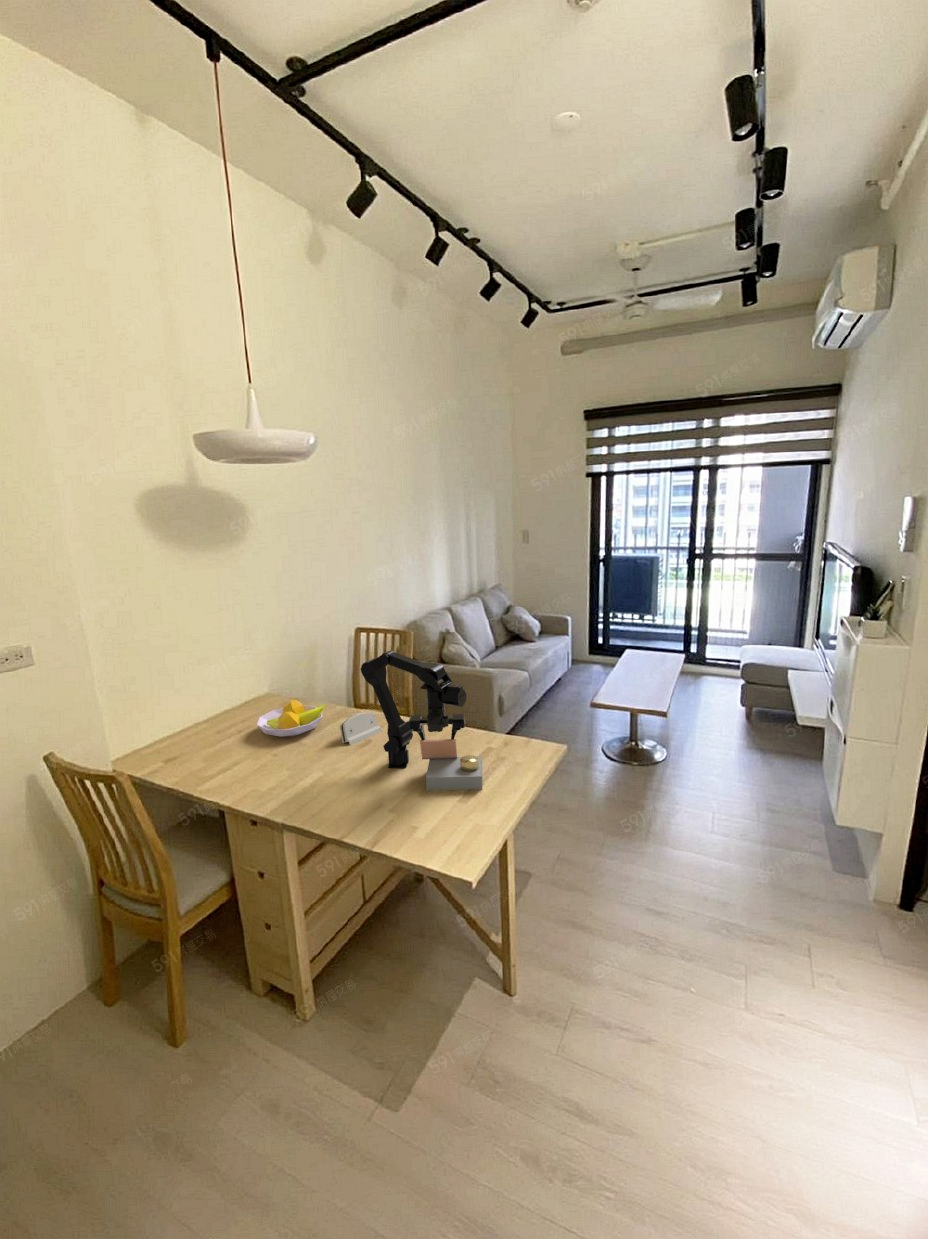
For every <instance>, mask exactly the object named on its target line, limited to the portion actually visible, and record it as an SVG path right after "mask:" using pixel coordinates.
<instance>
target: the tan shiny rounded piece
mask: <svg viewBox="0 0 928 1239" xmlns="http://www.w3.org/2000/svg"><path fill="white" fill-rule="evenodd" d="M461 757H462V758H461V759H460V766H461V770H462V771H464V772H474V771H476V770H478V768H479V762H478V756H476V755H471V754H470V755H469V754H468V755H464V756H461Z"/></svg>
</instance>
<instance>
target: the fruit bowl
mask: <svg viewBox="0 0 928 1239" xmlns="http://www.w3.org/2000/svg"><path fill="white" fill-rule="evenodd" d="M325 707H327V704H325V703H323V705H321V706H319V707H316V706H314V705H303V704H302V703H301V702H300V701H298V700H297V699H290V700H289V701H288V702H287V703H286V704H285V705H284V706H283V707H282V708H277V709H273V710H271V711H269V712H267V713H265V714H263V715H261V716H259V718H258V720H257V723H256V725H257V727H258V728H259V729H260V730H261V731H262V732H263V733H264V734H265V735H270V736H275V737H296V736H299V735H301V734H305V733H306V732H309V731H311V730H312V729H315V728H316V727H317V725H318V724H319V723H320V722H321V721H322V718H323V711H324V709H326V708H325Z"/></svg>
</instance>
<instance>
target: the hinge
mask: <svg viewBox="0 0 928 1239" xmlns="http://www.w3.org/2000/svg"><path fill="white" fill-rule="evenodd" d="M339 730H340V736H341V739H342V740H341V742H342V743H349V746H352V745H355V744H356V743H360V742H362V741H363V740H366V739H369V738H370V737H373V736H375V735H377V734H380V733H382V732H383V729H382V727H381V726H380V725H379V723H378V721H377V718H376V715H375V714H374V713H373V712H362V713H357V714H354V715H352V716H350V717H349V718H347V719H345V720H343V722H341V724H339Z"/></svg>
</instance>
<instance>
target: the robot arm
mask: <svg viewBox="0 0 928 1239" xmlns="http://www.w3.org/2000/svg"><path fill="white" fill-rule="evenodd" d="M387 666H391V667H394V668H396V669H398V670H401V671H403V672H406V673H410V674H412V675H415V676H417V678H418V679H419V681H421V682H423V684H422V685H421V686H420V689H421V690H425V691H426V704H427V706H426V708H427V715H426V718H423V717H422V714H421V715H410V716H409V719H408V720H407V721H405V720H403V718H402V717H401V715H400V713H399V710H398V707H397V705H396V702H395V700H394V697H393V695H392V692H391V690H390V687H389V685H388V683H387V673H388V672H387V668H386V667H387ZM360 672H361V674H362V676H363V679H364V680H365V682H367V683H368V684H369V685H370V686H372V688H373V691H374V693H375V696H376V698H377V701H378V703H379V706H380V708H381V711H382V713H383V715H384V717H385V719H386V722H387V737H388V741H387V742H385V743H384V744H383V746H382V747H383V749H384V752H386V753H387V755H388V756H387V758H388V765H387V768H388V769H396V768H399V769H400V768H402V769H403V768H407V766H408V764H409V762H410V753H409V751H410V750H409V749H407V747H408V745H410V742H411V741H412V739H413V736H414V733H415V732H416V733H417V734H418V735H419V737H420V740H427V739H426V734H425V727H424V726H425V725H426V726H427V732H429V733H435V732H436V733H440V732H443V729H444V728H445V729H446V728H447V727H449V725H452V726H451V736H450V739H455V736H456V734H457V732H458V731H461V729H464V728H466V726H465V725H466V716H465V715H464V714H463V713H461V714H460V713H456V714H452V717H449V716H448V715H446V708H445V707H446V705H447V706H454V707H458V708H462V707H464V705H465V704H466V701H467V693H466V691H465V689H463V685H461V684H458V685H456V684H453V683H454V682H453V681H452V679H451V678H450V676H449V674H448V673H447V672H446V669H445V667H444V665H442V664H440V663H436V662H431V661H430V662H424V661H419V660H417V659H414V658H412V657H409V656H407V655H403V654H401V653H398V652H396V651H394V650H387V651H386V652H383V653H381V655H379V656H378V657H374V658H372V659H369V660H367V661H365V662H363V663H362V665H361V667H360ZM439 682H440V683H439Z"/></svg>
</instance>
